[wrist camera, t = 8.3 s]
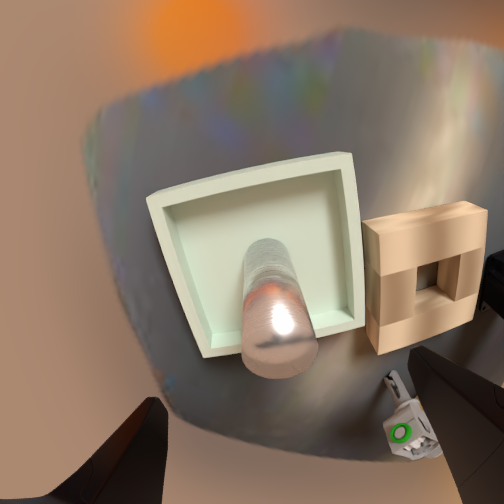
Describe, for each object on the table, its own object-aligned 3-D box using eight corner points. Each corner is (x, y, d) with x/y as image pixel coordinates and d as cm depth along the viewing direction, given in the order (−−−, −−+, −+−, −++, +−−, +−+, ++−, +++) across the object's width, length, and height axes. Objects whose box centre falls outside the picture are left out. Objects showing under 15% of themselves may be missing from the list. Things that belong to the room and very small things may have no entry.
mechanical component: (399, 397, 27) (429, 464, 17) (352, 366, 24) (386, 453, 15) (419, 382, 26) (454, 447, 16) (377, 346, 23) (420, 431, 14)
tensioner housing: (464, 200, 18) (487, 210, 15) (455, 303, 22) (472, 319, 19) (361, 221, 19) (379, 234, 16) (365, 333, 22) (377, 355, 20)
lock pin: (285, 233, 18) (314, 315, 10) (293, 275, 19) (320, 370, 11) (239, 243, 18) (232, 330, 10) (249, 283, 20) (250, 383, 11)
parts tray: (338, 151, 17) (351, 153, 15) (354, 307, 21) (364, 325, 19) (158, 190, 18) (145, 197, 16) (207, 337, 22) (203, 358, 20)
